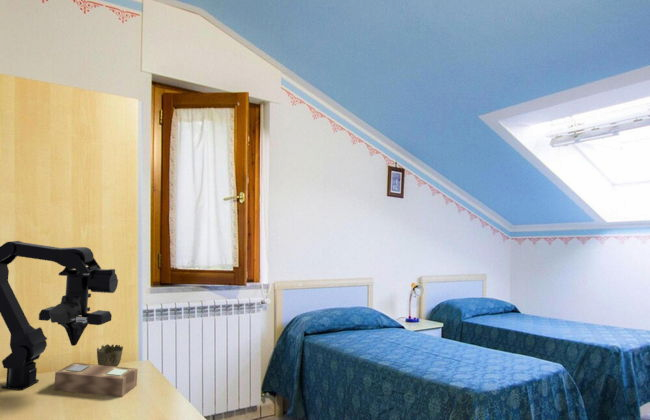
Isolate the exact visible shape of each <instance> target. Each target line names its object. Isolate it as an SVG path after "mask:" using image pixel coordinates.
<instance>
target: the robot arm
mask: <svg viewBox="0 0 650 420" xmlns="http://www.w3.org/2000/svg"><path fill="white" fill-rule="evenodd" d="M17 257H22V258H27V259H35V260H41V261H49V262H53V263H56V264H57V265H60V266H62V267H64V269H62V270H61V271H60V272H59V273H58V276H63V277H64V276H65V277H66V280H65V281H66V283H65V295H62V296H61V301H60V303H58V304H57V305H54V306H50V307H46V308H43V309H41V310H40V311H39V313H38V320H39V321H46V322H47V321H50V322H51V323H53V324H55V323H57V325H60V326H62V327H63V329H64V330H65V332H66V334H67V336H68V337H67V338H68V339H69V342H70V344H71V346H72V347H73V346H76V345H77V344H78V342H79V340H80V338H82V337H81V336H82V335H83V334H84V331H85V330H86V328H87V326H88V325H92V326H93V325H94V326H100V325H101V326H102V325H104V324H106V323H108V322H111V321H112V318H113V317H112V312H110V311H109V310H101V309H100V310H99V309H97V310H96V311H92V312H90V311H91V307H88V305H89V298H91V297H92V296H91V295H92V293H103V294H105V293H106V294H114V293H115V292H116V291H117V289H118V285H119V284H118V282H119V279H118V275H117V274H116V269H114V268H109V269H108V268H107V269H105V268H104V269H103V268H101V266H100V264H99V263H98V262H97V260H96V258H94V257H95V256H94V253H93V251H92V250H91V248H89V247H86V246H85V247H84V246H79V247H78V246H75V247H74V246H73V247H56V246H51V245H42V244H37V243H29V242H24V241H20V240H13V241H7V242H5V243H4V244H2V245H1V246H0V316H1V317H2V319H3V321H4V323H5V325H6V327H7V329H8V331H9V334H10V338H9V339H10V340H9V349H10V350H11V352H10V353H9V354H8V355H7V356H6V357H5V358H4V359H2V360H1V363H2V367H3V369H6V382H5V383H4V384H2V385H1V389H9V390H18V391H20V390H21V391H23V390H25V389H27V388H29V387H31V386H33V385H34V384H37V383H38V382H39V381H40V380H39V379H37V370H38V369H37V365H36V364H37V362H36V360H39V358H40V357H41V354H42V353H44V351H45V350H46V349H47V346H48V344H47V343H48V342H47V340H48V338H47V337H46V336H45V334H44V331H43V329H42V327H37V328H35V327H33V326H32V325H31V324H30V322H29V320H28V319H27V317H26V314H25V313H24V311H23V310H24V309H23V308H22V307H21V305H20V302H19V301H18V299H17V297H16V295H15V292H14V291H13V289H12V287H11V285H10V283H9V274H10V271H9V266H8V265H10V264H11V263H13V262H14V260H16V258H17ZM89 291H90V292H92V293H89Z"/></svg>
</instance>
